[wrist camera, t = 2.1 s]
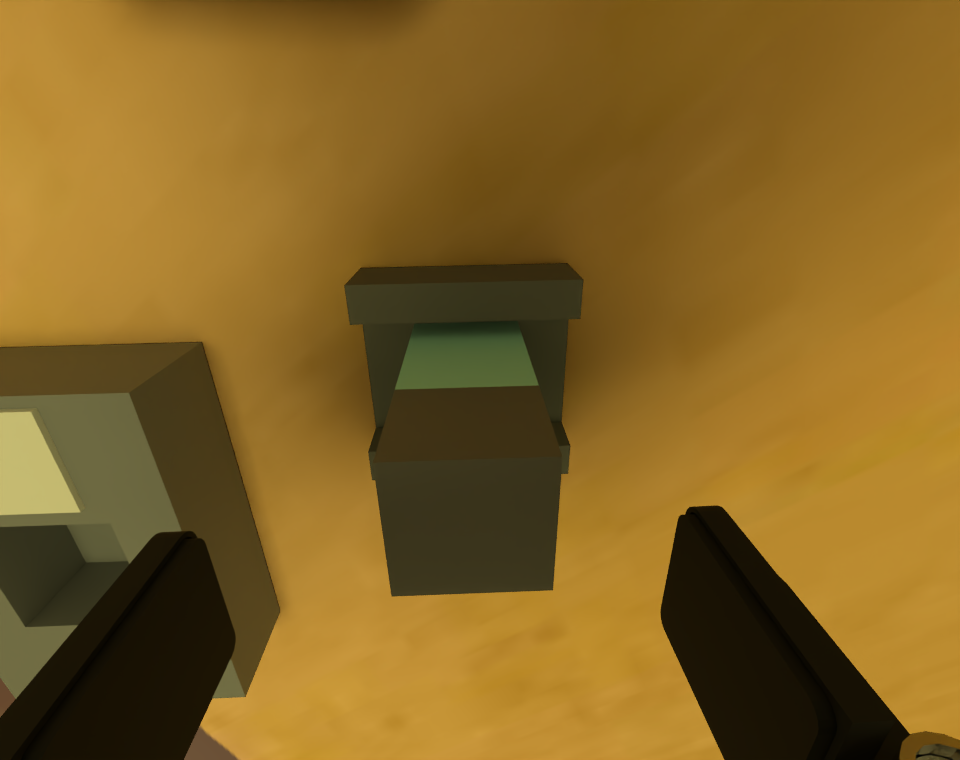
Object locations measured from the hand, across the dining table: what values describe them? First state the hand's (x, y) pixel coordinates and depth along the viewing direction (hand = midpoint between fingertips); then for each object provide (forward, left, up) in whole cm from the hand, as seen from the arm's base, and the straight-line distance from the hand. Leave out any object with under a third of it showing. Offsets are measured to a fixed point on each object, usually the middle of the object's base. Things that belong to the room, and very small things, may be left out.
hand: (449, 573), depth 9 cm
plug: (-1, 0, -8) cm, 8 cm away
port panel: (+5, -14, -9) cm, 17 cm away
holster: (-1, 0, -9) cm, 9 cm away
